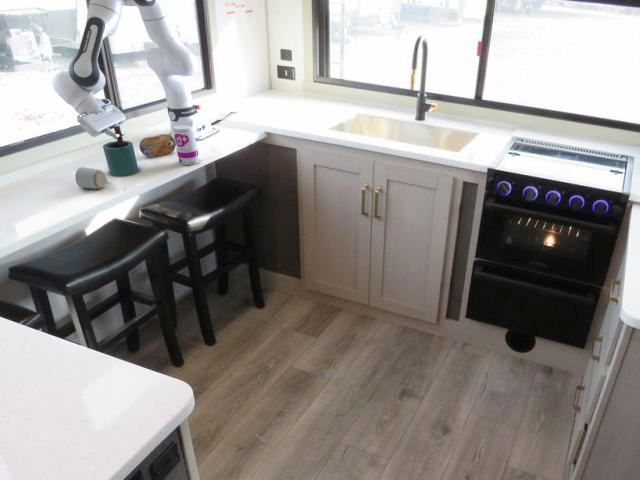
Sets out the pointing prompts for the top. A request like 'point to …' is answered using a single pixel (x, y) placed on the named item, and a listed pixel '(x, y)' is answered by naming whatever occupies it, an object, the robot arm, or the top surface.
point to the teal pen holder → (120, 158)
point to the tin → (157, 145)
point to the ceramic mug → (90, 178)
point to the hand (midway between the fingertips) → (120, 136)
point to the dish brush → (118, 131)
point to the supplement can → (186, 144)
